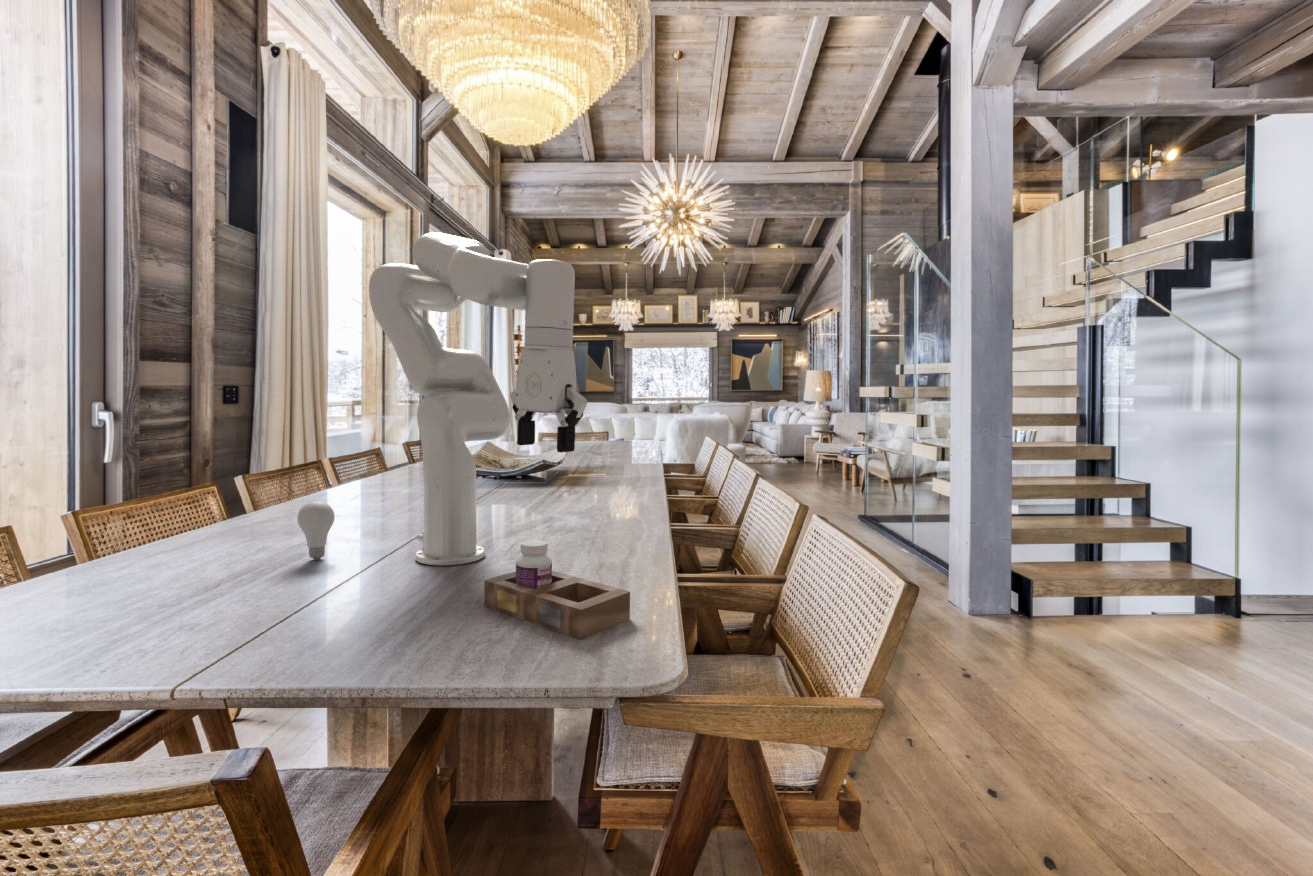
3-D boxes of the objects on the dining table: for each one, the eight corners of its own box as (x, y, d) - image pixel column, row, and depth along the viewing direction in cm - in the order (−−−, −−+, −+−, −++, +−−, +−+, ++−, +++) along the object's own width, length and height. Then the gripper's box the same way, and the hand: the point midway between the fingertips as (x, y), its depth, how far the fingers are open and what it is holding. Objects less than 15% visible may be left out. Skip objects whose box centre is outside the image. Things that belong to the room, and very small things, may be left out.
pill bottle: (543, 613, 95) (544, 548, 94) (509, 610, 96) (509, 545, 95) (556, 601, 100) (557, 539, 99) (524, 598, 101) (524, 537, 100)
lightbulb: (324, 564, 117) (323, 504, 116) (291, 563, 117) (289, 503, 117) (341, 555, 123) (340, 498, 123) (309, 555, 124) (308, 498, 123)
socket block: (482, 606, 97) (482, 580, 96) (534, 590, 105) (534, 566, 105) (578, 640, 85) (579, 610, 84) (629, 618, 93) (630, 591, 93)
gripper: (495, 338, 105) (493, 443, 107) (568, 339, 94) (564, 456, 96) (532, 341, 111) (529, 441, 113) (604, 343, 100) (599, 453, 102)
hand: (545, 448), depth 104 cm, fingers open, 9 cm apart
